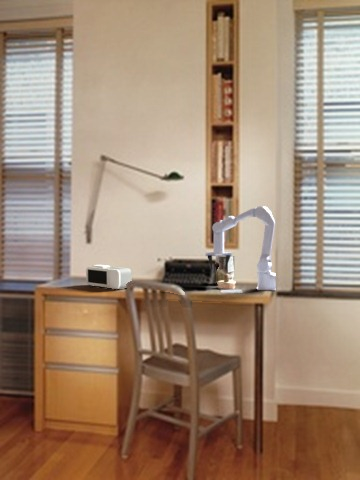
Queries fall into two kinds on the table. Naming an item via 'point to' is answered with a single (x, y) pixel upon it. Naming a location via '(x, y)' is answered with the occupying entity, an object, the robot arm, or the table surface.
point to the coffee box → (222, 270)
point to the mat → (231, 291)
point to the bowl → (226, 286)
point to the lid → (226, 280)
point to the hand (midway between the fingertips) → (218, 269)
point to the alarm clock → (108, 276)
